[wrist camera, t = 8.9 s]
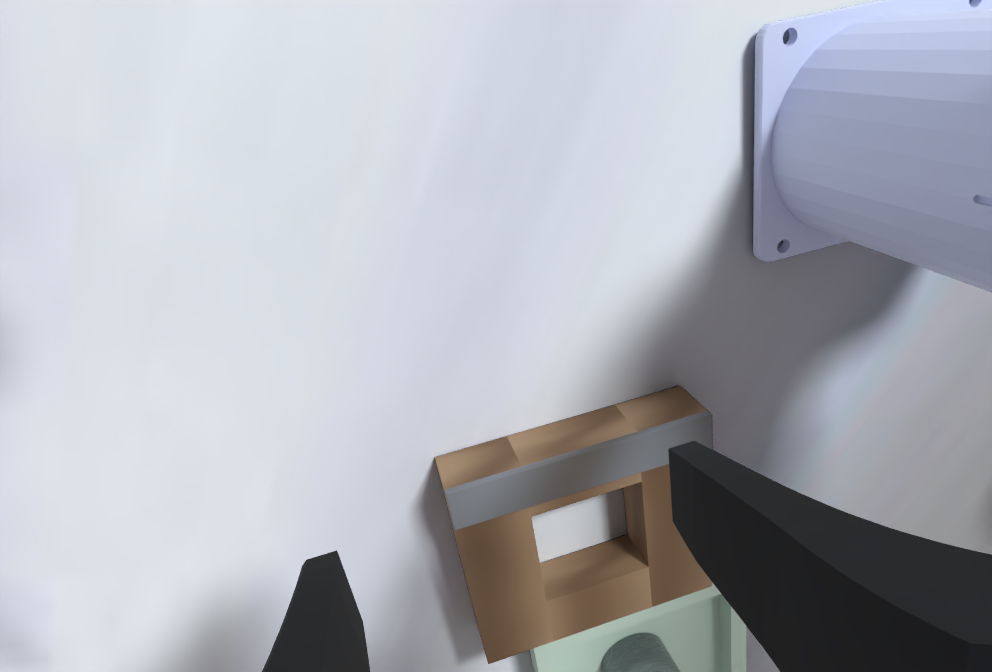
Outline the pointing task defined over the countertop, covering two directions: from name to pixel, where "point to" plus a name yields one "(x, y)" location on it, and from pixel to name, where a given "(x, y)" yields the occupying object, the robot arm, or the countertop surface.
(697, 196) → the countertop surface
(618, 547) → the block
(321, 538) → the countertop surface
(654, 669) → the pin
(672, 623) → the tray
